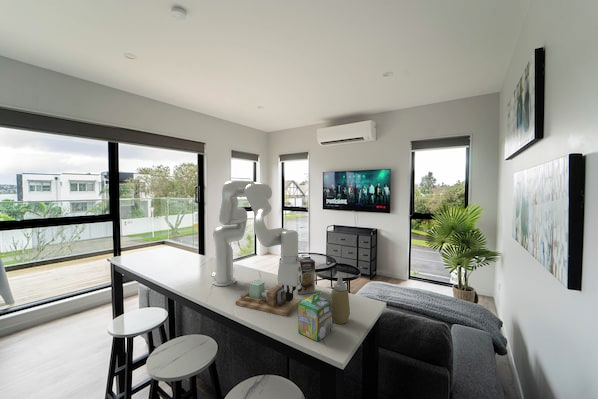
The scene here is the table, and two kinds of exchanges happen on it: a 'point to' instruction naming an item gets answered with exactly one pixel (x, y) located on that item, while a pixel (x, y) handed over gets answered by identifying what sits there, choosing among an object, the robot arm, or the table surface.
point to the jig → (269, 303)
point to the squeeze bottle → (340, 302)
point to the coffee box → (307, 276)
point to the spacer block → (256, 289)
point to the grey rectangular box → (279, 296)
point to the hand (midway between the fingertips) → (289, 300)
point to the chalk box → (314, 317)
